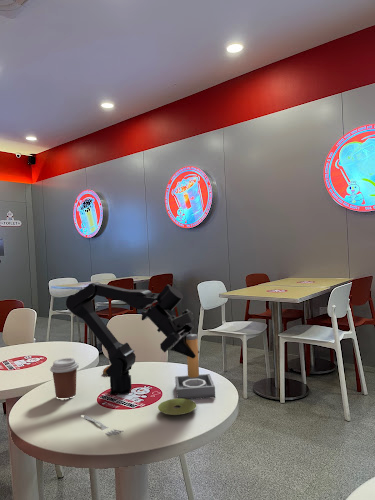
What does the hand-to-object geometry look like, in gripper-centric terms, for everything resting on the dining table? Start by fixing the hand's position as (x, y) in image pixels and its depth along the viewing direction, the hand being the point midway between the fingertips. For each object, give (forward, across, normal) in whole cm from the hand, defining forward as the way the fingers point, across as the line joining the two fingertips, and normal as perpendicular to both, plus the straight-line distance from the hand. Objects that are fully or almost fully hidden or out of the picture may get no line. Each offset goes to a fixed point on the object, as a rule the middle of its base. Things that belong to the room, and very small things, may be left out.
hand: (196, 355), depth 122 cm
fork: (-6, -23, +27) cm, 36 cm away
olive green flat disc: (+8, -12, +12) cm, 18 cm away
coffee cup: (-21, -8, +41) cm, 47 cm away
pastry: (-18, +18, +38) cm, 45 cm away
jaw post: (+4, 0, +6) cm, 7 cm away
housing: (+8, +4, +11) cm, 14 cm away
